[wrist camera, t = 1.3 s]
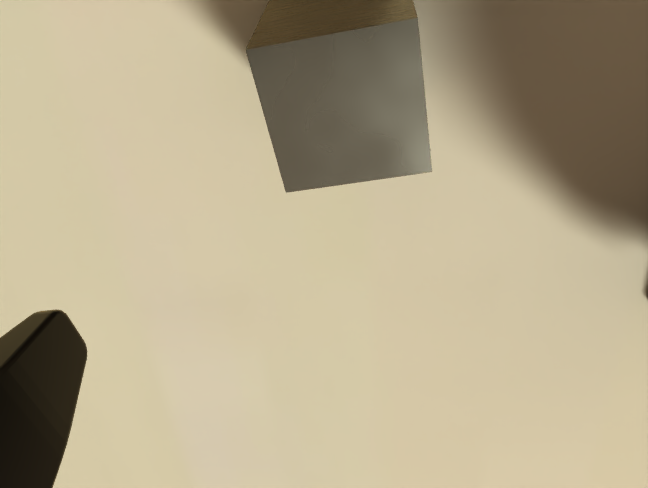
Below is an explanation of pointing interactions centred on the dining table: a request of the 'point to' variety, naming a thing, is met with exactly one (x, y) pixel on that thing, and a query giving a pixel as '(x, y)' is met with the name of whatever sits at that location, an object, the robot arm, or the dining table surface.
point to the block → (341, 90)
